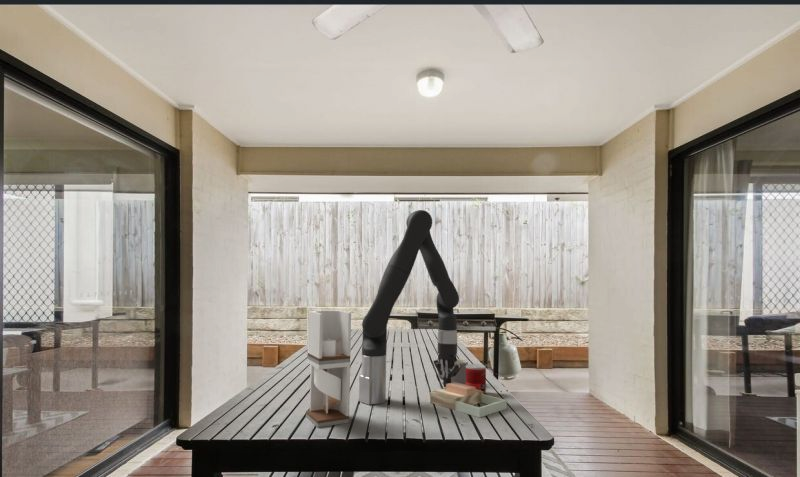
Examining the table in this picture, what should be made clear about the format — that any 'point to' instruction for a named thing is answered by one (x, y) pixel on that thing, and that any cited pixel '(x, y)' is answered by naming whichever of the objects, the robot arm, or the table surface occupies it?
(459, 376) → the coffee mug
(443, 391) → the plate
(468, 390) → the tile front
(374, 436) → the table surface
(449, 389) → the tile back
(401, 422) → the table surface
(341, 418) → the display case
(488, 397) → the tray
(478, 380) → the canned food
